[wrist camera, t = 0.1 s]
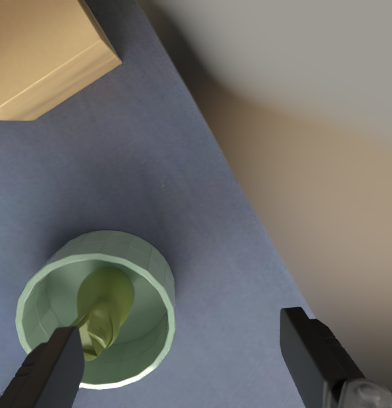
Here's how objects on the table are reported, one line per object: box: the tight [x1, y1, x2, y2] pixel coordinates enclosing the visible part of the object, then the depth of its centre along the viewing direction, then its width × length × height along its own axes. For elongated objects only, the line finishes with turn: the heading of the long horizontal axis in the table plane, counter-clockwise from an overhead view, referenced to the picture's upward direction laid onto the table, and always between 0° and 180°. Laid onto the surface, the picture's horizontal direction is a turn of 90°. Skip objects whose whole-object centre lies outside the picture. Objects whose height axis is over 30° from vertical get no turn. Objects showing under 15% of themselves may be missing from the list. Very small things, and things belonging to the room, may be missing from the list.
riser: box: [0, 0, 122, 121], centre depth 23 cm, size 10×10×8 cm
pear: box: [70, 267, 135, 361], centre depth 28 cm, size 6×5×10 cm
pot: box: [15, 230, 176, 389], centre depth 31 cm, size 14×14×6 cm
